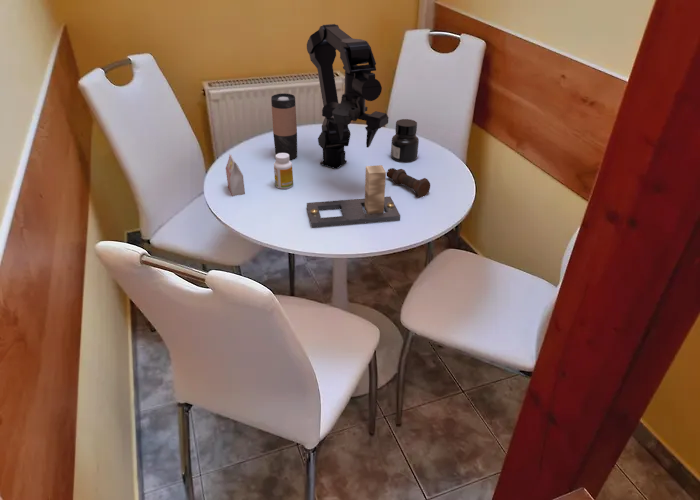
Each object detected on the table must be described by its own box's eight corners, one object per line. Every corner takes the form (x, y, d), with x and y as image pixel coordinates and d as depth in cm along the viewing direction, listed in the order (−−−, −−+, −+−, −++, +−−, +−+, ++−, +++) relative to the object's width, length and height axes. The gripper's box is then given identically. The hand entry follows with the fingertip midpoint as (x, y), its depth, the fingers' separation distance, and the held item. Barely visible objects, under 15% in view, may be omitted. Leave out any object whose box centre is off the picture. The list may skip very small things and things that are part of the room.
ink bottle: (391, 150, 183) (393, 116, 176) (416, 152, 182) (419, 117, 176) (390, 162, 175) (392, 127, 168) (417, 164, 174) (420, 128, 168)
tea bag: (240, 184, 161) (236, 153, 155) (245, 194, 156) (241, 162, 150) (227, 186, 160) (223, 155, 154) (232, 196, 155) (228, 164, 149)
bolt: (391, 182, 167) (425, 199, 157) (380, 179, 163) (414, 196, 153) (398, 165, 166) (433, 181, 156) (388, 161, 162) (423, 177, 152)
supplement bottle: (296, 183, 162) (295, 153, 156) (287, 191, 158) (285, 160, 152) (281, 179, 163) (279, 150, 158) (271, 187, 159) (269, 157, 154)
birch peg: (367, 216, 146) (369, 173, 138) (364, 208, 149) (365, 166, 142) (383, 215, 146) (385, 172, 139) (379, 207, 150) (381, 165, 143)
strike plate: (311, 228, 141) (311, 221, 139) (306, 207, 149) (306, 200, 148) (400, 220, 144) (400, 213, 143) (390, 201, 153) (390, 194, 152)
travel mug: (302, 155, 179) (300, 96, 168) (288, 163, 173) (285, 102, 162) (284, 150, 182) (281, 91, 171) (270, 157, 177) (265, 98, 166)
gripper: (310, 91, 144) (311, 145, 153) (370, 104, 136) (368, 160, 145) (332, 81, 152) (332, 133, 161) (390, 92, 144) (387, 147, 153)
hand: (354, 143), depth 155 cm, fingers open, 9 cm apart
